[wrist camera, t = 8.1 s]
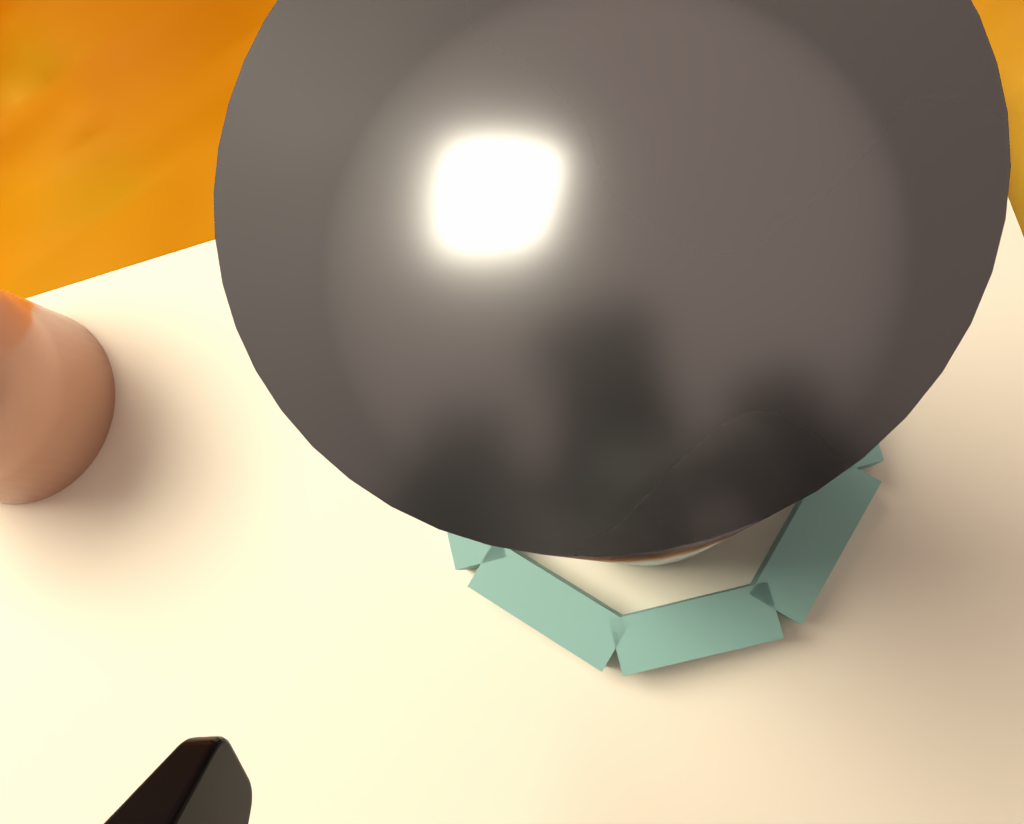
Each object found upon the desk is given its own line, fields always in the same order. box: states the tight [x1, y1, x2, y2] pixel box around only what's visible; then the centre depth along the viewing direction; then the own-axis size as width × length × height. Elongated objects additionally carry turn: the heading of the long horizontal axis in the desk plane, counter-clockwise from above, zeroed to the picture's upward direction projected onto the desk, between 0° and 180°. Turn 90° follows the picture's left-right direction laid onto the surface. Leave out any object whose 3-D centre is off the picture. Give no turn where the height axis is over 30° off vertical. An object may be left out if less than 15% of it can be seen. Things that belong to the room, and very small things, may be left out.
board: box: [0, 198, 1024, 824], centre depth 18 cm, size 24×24×3 cm
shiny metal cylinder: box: [214, 0, 1011, 566], centre depth 11 cm, size 4×4×13 cm
